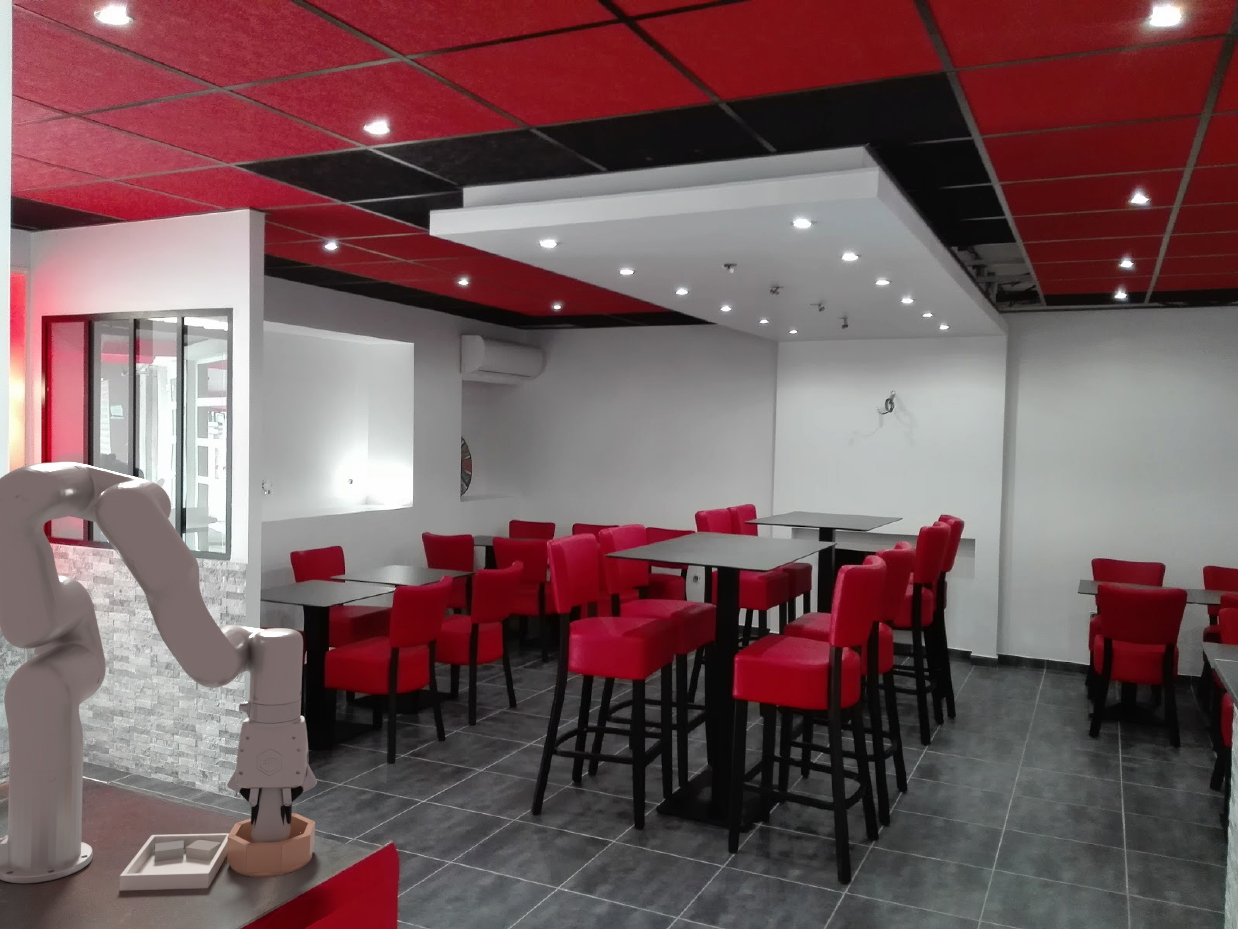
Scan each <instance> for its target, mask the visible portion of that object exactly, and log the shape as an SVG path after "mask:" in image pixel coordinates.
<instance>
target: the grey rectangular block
mask: <svg viewBox="0 0 1238 929" xmlns="http://www.w3.org/2000/svg"><path fill="white" fill-rule="evenodd" d="M183 855H184V840H181V841H172V842H164V843H156V844H155V862H157V861H165V860H173V859H181V858H183Z"/></svg>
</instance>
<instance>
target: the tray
mask: <svg viewBox="0 0 1238 929" xmlns="http://www.w3.org/2000/svg"><path fill="white" fill-rule="evenodd" d="M229 833H230V832H229ZM229 833H223V832H221V833H220V832H219V833H189V834H188V833H187V834H186V833H185V834H179V833H178V834H176V833H175V834H151V835H150V836H149V838H148V839H147V840H146V842H145V843H144V844H143V846H142V847H141V848H140V850H139V851H138V852H137V854H135V855H134V857H133V858H132V860H131V861H130V862H129V863H128V864H127V866H126V867H125V869H124V870H123V871H122V872H121V873H120V875H119V891H120V892H121V891H124V892H125V891H147V890H148V891H151V890H152V891H153V890H159V891H160V890H182V889H183V890H184V889H185V890H186V889H188V890H190V889H209V887H210V886H211V884H212V883H213V880H214V878H216V875H217V873H218V872H219V869H220V868H221V866H222V864H224V862H225V859H227V841H228V835H229ZM181 840H184V855H183V858H181V859H173V860H165V861H157V862H155V844H156V843H164V842H172V841H181ZM197 840H206V841H213V842H221V846H220V848H219V850H218V851H217V853H216V855H215V856H214V858H212V859H211V860H210V861H207V860H200V859H192V858H186V847H187V846H189V845H190V844H192V843H193V842H195V841H197Z"/></svg>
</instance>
